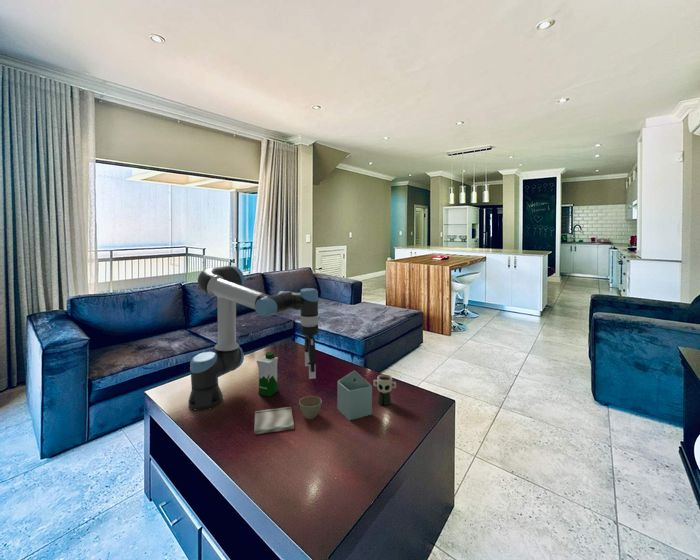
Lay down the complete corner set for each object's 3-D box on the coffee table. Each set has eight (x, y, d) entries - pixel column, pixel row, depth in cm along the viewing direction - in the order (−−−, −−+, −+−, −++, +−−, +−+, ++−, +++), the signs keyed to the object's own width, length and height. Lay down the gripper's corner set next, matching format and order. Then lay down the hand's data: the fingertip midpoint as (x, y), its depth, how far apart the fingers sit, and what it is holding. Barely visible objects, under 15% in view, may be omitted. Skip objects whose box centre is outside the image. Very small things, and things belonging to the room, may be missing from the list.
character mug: (371, 405, 157) (372, 379, 156) (374, 398, 164) (374, 373, 162) (395, 408, 155) (395, 381, 153) (396, 400, 162) (396, 375, 160)
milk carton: (280, 390, 172) (279, 353, 169) (270, 398, 164) (269, 359, 161) (266, 387, 175) (265, 350, 173) (255, 394, 167) (254, 356, 164)
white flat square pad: (254, 434, 134) (254, 431, 134) (255, 413, 149) (255, 411, 149) (294, 428, 138) (294, 425, 138) (291, 409, 153) (291, 406, 153)
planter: (331, 417, 147) (331, 374, 144) (337, 408, 155) (337, 367, 152) (367, 423, 142) (368, 379, 139) (371, 414, 150) (372, 372, 147)
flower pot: (318, 423, 142) (318, 408, 141) (296, 421, 144) (295, 405, 143) (324, 411, 152) (324, 396, 151) (303, 409, 154) (303, 394, 153)
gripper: (323, 332, 131) (323, 383, 134) (314, 317, 155) (314, 360, 158) (304, 333, 129) (305, 385, 132) (297, 318, 153) (298, 362, 156)
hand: (310, 371), depth 145 cm, fingers open, 13 cm apart
